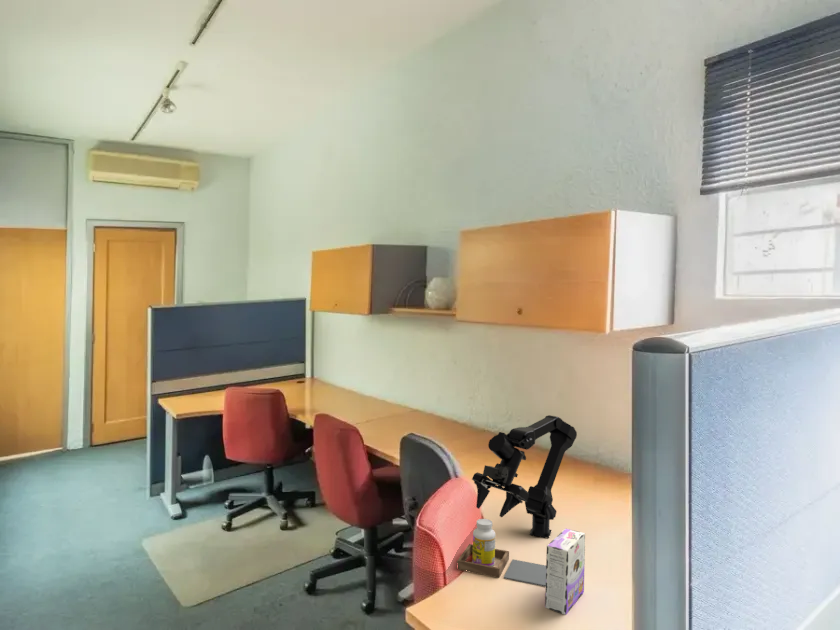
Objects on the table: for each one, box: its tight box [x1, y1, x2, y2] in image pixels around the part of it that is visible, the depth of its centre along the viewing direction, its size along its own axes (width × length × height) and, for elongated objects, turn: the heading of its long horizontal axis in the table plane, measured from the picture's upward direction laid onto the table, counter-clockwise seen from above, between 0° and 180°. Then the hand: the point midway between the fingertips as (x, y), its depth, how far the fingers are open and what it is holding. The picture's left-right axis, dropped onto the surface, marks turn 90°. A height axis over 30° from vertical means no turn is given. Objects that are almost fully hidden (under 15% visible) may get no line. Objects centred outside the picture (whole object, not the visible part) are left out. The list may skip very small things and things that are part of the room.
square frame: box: [456, 543, 510, 579], centre depth 166 cm, size 13×13×2 cm
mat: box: [503, 559, 546, 588], centre depth 161 cm, size 12×12×1 cm
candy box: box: [544, 528, 586, 616], centre depth 147 cm, size 14×6×16 cm, turn 145°
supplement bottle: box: [471, 518, 496, 567], centre depth 166 cm, size 7×7×13 cm
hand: (488, 512), depth 171 cm, fingers open, 9 cm apart
